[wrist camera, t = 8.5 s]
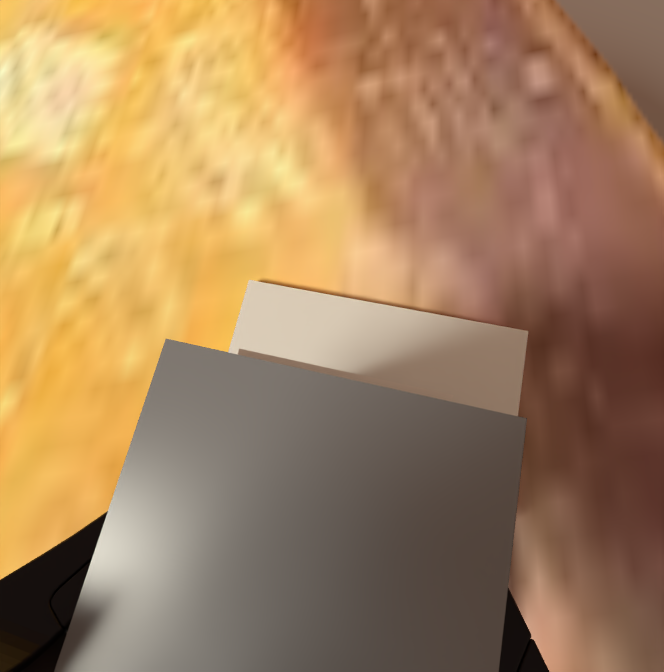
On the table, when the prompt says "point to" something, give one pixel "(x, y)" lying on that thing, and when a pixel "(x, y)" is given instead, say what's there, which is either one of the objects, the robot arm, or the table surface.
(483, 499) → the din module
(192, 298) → the table surface
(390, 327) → the board
